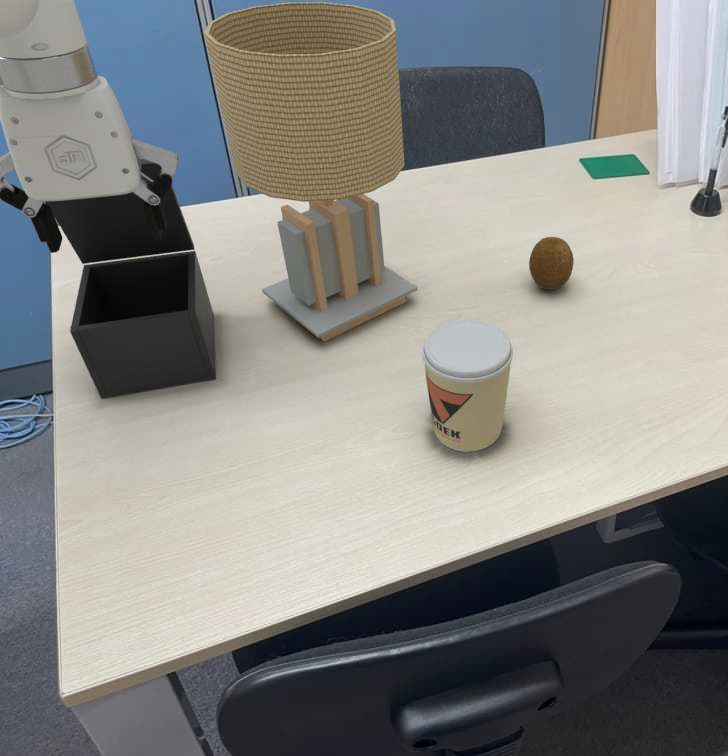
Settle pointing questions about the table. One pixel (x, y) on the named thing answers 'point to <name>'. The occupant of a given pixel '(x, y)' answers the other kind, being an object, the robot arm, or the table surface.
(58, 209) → the lid
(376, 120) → the desk lamp
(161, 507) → the table surface
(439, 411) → the coffee cup
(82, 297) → the dark grey hollow box
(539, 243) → the fruit
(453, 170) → the table surface
